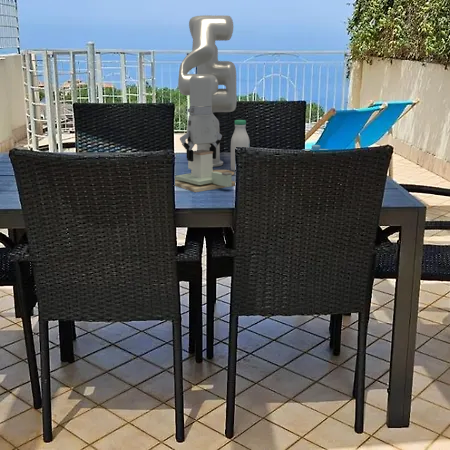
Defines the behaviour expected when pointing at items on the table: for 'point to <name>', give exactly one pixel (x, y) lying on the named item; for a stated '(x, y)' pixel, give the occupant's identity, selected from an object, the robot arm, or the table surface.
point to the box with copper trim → (201, 164)
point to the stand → (198, 186)
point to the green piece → (208, 179)
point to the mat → (224, 171)
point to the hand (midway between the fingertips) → (201, 159)
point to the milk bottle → (238, 139)
